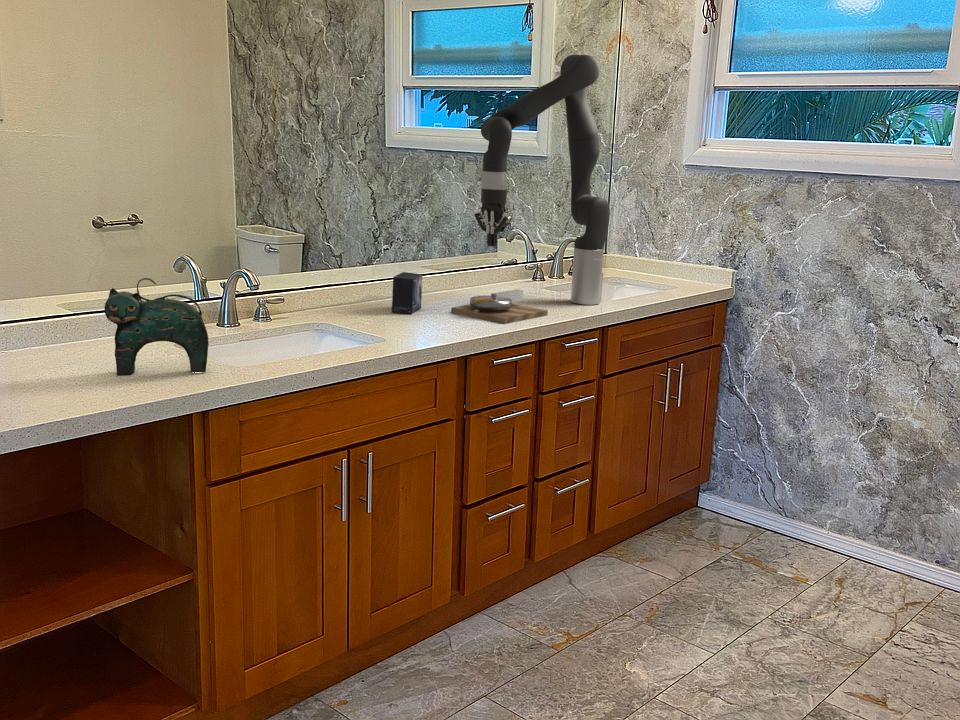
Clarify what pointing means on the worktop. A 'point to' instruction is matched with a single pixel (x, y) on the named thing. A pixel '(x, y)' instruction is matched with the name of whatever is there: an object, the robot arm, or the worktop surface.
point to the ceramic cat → (155, 327)
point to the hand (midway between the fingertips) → (491, 246)
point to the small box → (407, 293)
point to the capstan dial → (497, 300)
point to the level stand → (501, 313)
